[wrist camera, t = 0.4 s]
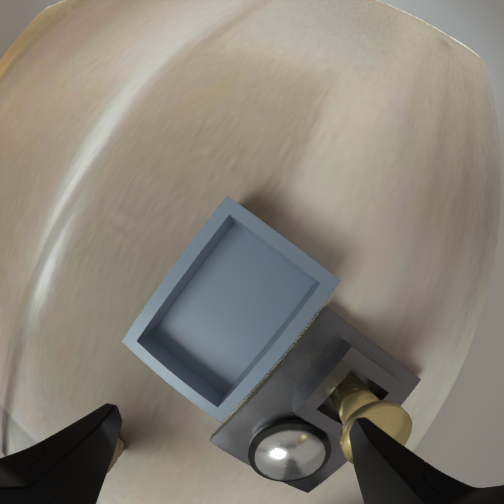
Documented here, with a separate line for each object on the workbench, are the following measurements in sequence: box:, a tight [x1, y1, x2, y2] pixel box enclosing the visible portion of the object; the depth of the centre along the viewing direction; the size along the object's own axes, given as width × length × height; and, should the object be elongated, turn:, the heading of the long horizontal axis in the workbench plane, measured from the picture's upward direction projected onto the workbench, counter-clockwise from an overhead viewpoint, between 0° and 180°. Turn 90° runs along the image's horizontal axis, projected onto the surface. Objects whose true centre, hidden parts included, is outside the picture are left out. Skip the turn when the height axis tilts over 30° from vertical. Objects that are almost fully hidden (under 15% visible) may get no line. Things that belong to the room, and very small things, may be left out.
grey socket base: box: [209, 307, 421, 493], centre depth 19 cm, size 12×16×4 cm
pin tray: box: [122, 196, 340, 422], centre depth 20 cm, size 10×14×4 cm
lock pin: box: [330, 375, 412, 464], centre depth 15 cm, size 4×4×8 cm
